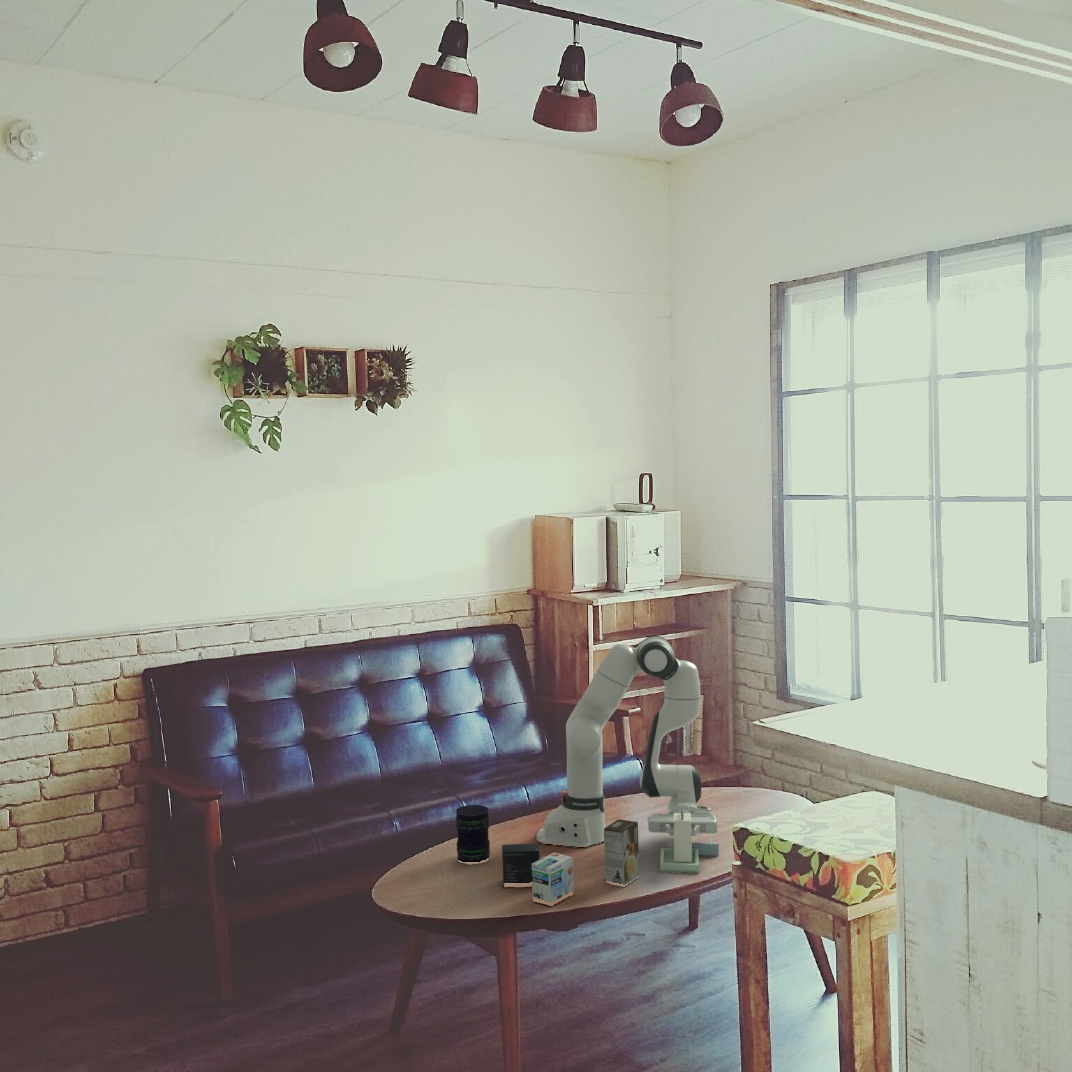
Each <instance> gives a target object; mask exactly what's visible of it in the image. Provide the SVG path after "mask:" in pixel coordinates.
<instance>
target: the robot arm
mask: <svg viewBox="0 0 1072 1072" xmlns="http://www.w3.org/2000/svg"><path fill="white" fill-rule="evenodd" d="M639 672H644V673H645V674H646V675H648V676H650V677H653V678H657V679H658V680H662V681H663V685H664V701H663V705H662V707H661V708H660V710H659V711H657V712H656V713H655V714H654V716H653V719H652V722H651V727H650V731H649V737H648V743H647V747H646V753H645V758H644V759H645V760H644V765H643V767H642V769H641V770H642V771H641V773H640V778H639V784H640V785H639V786H640V789H641V791H642V792H643V793H644V795H646V796H647V797H649V798H651V799H652V798H661V797H665V798H667V797H668V798H669V800H668V804H667V813H652V814H650V816H648V817H647V822H648V823H647V824H648V825H647V827H648V831H649V832H650V833H660V834H661V833H662V834H663V833H665V834H666V833H667V834H668V836H674V813H681V808H683V813H691V836H692V837H693V836H695V837H696V836H697V835H698V834H711V835H712V834H717V833H718V820H717V817H716V815H715V813H713V812H712V808H711V807H710V806H709V807H708V806H703V805H698V804H697V803H699V801H700V799H701V798H702V780H701V773H700V771H699V770H698V769H697V768H696V767H695V766H694V765H693V764H662V763H661V764H660V763H659V758H660V757H659V756H660V751H661V745H662V740H663V738H664V737H665V736H666V735H667V734H669V733H671V732H672V731H675V730H679V729H681V728H683V727H686V726H688V725H690V724H691V723H693V722H694V721H695V720H696V719H697V718H698V716H699V715H700V710H701V682H700V676H699V671H698V667H697V665H696V664H694V663H693V662H691V661H689V660H683V659H682V660H680V659H678V658H677V657H676V656H675V653H674V649H673V647H672V645H671V643H670V642H669V641H668V640H667V639H666V638H665V637H663V636H659V635H653V636H649V637H646V638H645V639H643V640H642V641H639V643H637V644H635V645H633V646H631V645H628V644H625V643H617V644H615V645H613V646H612V648H611V649H610V650H609V651H608V652H607V654H606V655H605V656H604V658H603V659H602V660H601V663H599V666H598V668H597V669H596V672H595V673H594V674H593V677H592V679H591V680H590V682H589V684H588V686H587V688H586V690H585V691H584V693H583V695H582V696H581V698H580V699H579V701H578V702H577V704H576V706H575V707H574V708H573V709H572V712H571V714H570V715H569V717H568V719H567V721H566V723H565V735H566V736H565V738H566V782H567V783H566V785H567V786H566V787H567V789H566V790H562V791H561V793H560V803H561V804H560V805H559V806H558V807H556V808H555V809H554V810H552V811H551V812H549V814H548V815H547V816H546V817H545V820H544V823H543V827H542V828H541V829H540V830H538V832H537V834H536V841H537V840H538V841H540V842H542V843H547V844H562V845H571V846H582V847H586V846H589V847H591V846H590V845H591V844H595V845H600V844H602V843H601V842H603V841H604V828H606V827H607V825H606V819H605V808H606V803H605V802H606V801H605V800H606V799H605V798H606V797H605V792H604V791H603V790H604V789H603V788H604V785H603V783H604V781H603V748H604V747H603V743H604V742H603V741H604V740H603V738H604V737H603V729H604V728H605V726H606V725H607V723H608V721H609V719H610V718H611V716H612V715H613V714H614V713H615V711H617V710H618V707H619V706H620V704H621V702H622V700H623V698H624V696H625V694H626V693H627V691H628V689H629V687H630V686H631V684H632V681H633V680H634V678H635V677H636V676H637V674H638V673H639ZM599 843H600V844H599ZM603 843H604V842H603Z"/></svg>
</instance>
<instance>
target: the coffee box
mask: <svg viewBox="0 0 1072 1072" xmlns="http://www.w3.org/2000/svg"><path fill="white" fill-rule="evenodd" d="M603 843H604V871H605V873H604V874H605V877H604V879H605V882H606V881H610V882H613V883H619V884H623V885H625V884H627V883H629V882H630V881H632V880H633V879H634V878H636V877H638V876H639V877H640V860H639V859H640V857H639V854H640V853H639V850H640V849H639V848H640V847H639V822H638V821H632V820H628V819H627V820H626V819H621V818H619V819H616V820H615V821H613V822H612V823H610V824H609V825H606V828H604V842H603ZM639 877H638V878H639Z"/></svg>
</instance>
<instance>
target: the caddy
mask: <svg viewBox="0 0 1072 1072" xmlns="http://www.w3.org/2000/svg"><path fill="white" fill-rule="evenodd" d="M692 837H693V836H691V813H683V808H681V813H674V835H673V848H674V861H675V862H692V842H693V841H692V840H693V839H692Z"/></svg>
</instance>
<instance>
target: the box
mask: <svg viewBox="0 0 1072 1072" xmlns="http://www.w3.org/2000/svg"><path fill="white" fill-rule="evenodd" d="M540 848H541V847H540V843H538V842H537V843H518V844H517V843H516V844H514V843H513V844H502V846H501V856H502V859H501V860H502V863H501V864H502V884H503V883H530V882H532V863H534V862H536V861H538V860H540V859H541V853H540V852H541V851H540V850H541V849H540Z"/></svg>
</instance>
